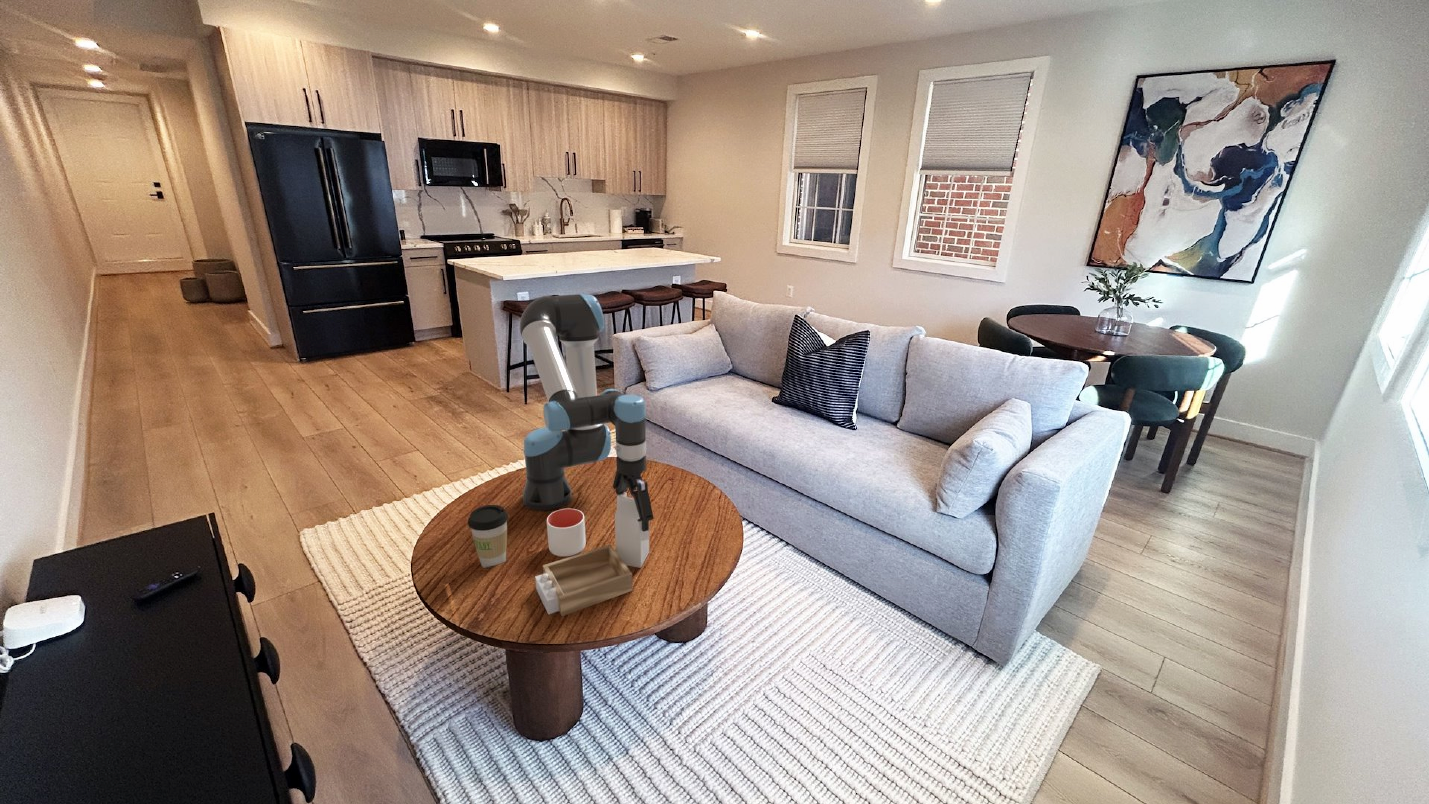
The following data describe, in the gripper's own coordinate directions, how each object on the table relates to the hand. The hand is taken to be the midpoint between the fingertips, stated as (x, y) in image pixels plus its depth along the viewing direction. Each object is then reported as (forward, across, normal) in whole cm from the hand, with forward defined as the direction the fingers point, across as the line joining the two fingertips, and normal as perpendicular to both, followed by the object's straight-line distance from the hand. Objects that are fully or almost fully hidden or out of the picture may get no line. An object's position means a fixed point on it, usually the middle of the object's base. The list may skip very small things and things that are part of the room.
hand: (632, 527), depth 148 cm
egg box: (+9, +6, -24) cm, 27 cm away
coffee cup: (+10, -17, -33) cm, 39 cm away
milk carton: (+10, 0, 0) cm, 11 cm away
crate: (+10, +6, -15) cm, 19 cm away
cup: (+10, -13, -14) cm, 22 cm away
